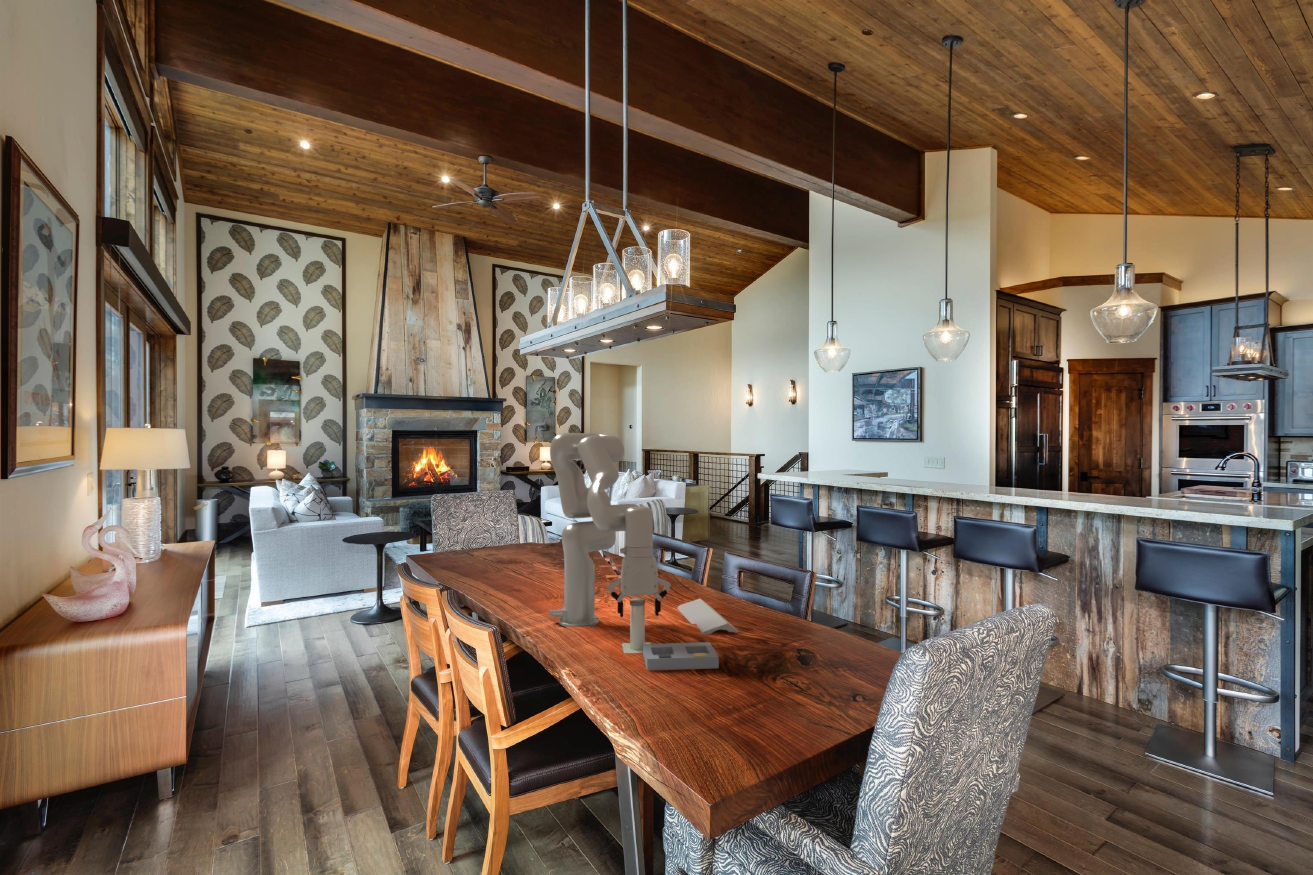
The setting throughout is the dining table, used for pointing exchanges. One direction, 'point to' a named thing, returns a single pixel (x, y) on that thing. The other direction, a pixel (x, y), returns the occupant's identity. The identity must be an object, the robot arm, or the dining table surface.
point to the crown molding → (705, 617)
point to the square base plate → (628, 650)
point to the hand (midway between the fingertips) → (639, 615)
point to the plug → (637, 623)
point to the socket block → (680, 656)
